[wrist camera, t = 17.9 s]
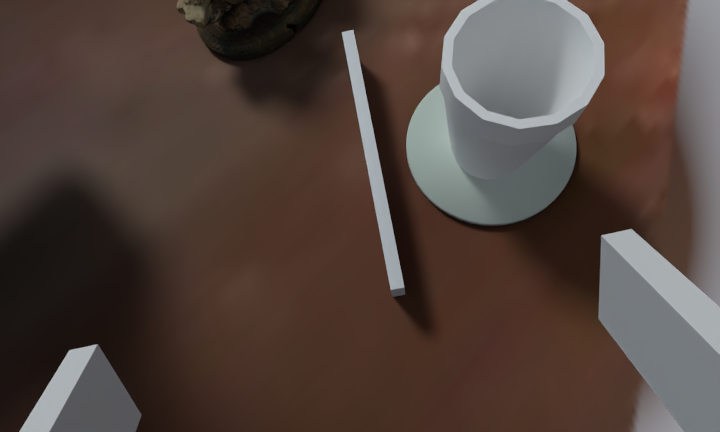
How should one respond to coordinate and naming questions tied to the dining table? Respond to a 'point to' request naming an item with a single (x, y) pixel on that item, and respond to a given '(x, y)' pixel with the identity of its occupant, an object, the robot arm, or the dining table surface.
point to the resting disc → (475, 195)
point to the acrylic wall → (373, 166)
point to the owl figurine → (246, 24)
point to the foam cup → (516, 80)
